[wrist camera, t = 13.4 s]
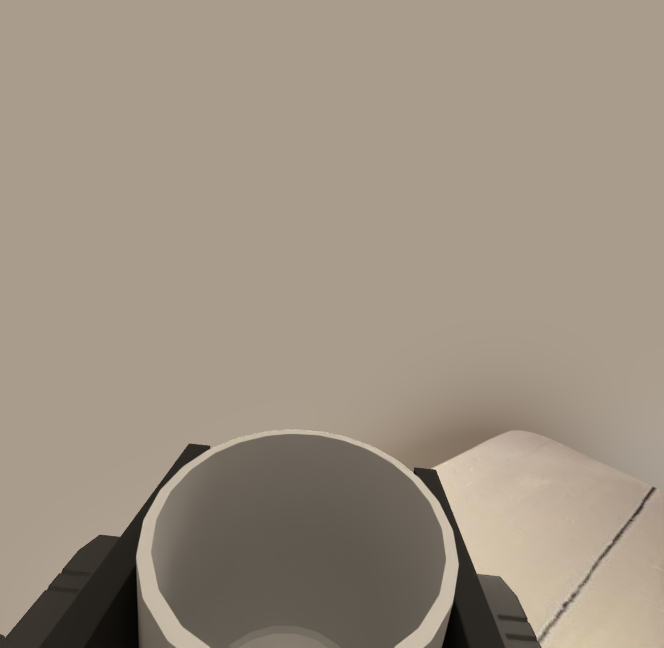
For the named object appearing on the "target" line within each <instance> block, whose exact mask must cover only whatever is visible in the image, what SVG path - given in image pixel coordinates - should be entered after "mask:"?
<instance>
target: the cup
mask: <svg viewBox="0 0 664 648" xmlns="http://www.w3.org/2000/svg"><path fill="white" fill-rule="evenodd" d="M458 567H459V563H458V557H457V551H456V545H455V539H454V534H453V530H452V527H451V525H450V523H449V521H448V519H447V517H446V515H445V513H444V511H443V509H442V507H441V505H440V503H439V501H438V500H437V499H436V498H435V496H434V495H433V494H432V493H431V492H430V490H429V489H428V488H427V487H426V485H425V484H424V483H423V482H422V481H421V479H420V478H419V477H417V476H416V475H415V474H414V473H412V472H411V471H410V470H409V469H408V468H406V467H405V466H404V465H403V464H401V463H400V462H399V461H398V460H396V459H394V458H392V457H391V456H389V455H387V454H385V453H384V452H382V451H380V450H378V449H376V448H375V447H373V446H370V445H368V444H365V443H362V442H359V441H357V440H354V439H351V438H348V437H345V436H340V435H336V434H331V433H326V432H321V431H310V430H293V429H291V430H278V431H267V432H260V433H256V434H252V435H248V436H243V437H240V438H235V439H233V440H231V441H228V442H226V443H223V444H221V445H219V446H216V447H214V448H212V449H209V450H207V451H206V452H204V453H203V454H201V455H200V456H198V457H197V458H195V459H194V460H192V461H191V462H189V463H188V464H186V465H185V466H183V467H182V468H181V469H180V470H179V471H178V472H177V473H176V474H175V475H174V476H173V477H172V478H171V479H170V480H169V481H168V482H167V484H166V485H165V486H164V487H163V488H162V489H161V490H160V491H159V493H158V495H157V497H156V498H155V500H154V502H153V504H152V506H151V507H150V509H149V511H148V513H147V515H146V516H145V518H144V520H143V525H142V530H141V535H140V540H139V545H138V549H137V554H136V572H137V602H138V631H139V648H442V644H443V640H444V637H445V633H446V629H447V625H448V621H449V617H450V613H451V609H452V605H453V600H454V593H455V587H456V580H457V573H458Z"/></svg>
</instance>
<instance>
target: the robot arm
mask: <svg viewBox="0 0 664 648" xmlns="http://www.w3.org/2000/svg"><path fill="white" fill-rule="evenodd" d="M209 449H210V446H207V445H197V444H188V446H187V447H186V449H185V450H184V451H183V453H182V454H181V455H180V457H179V458H178V460H177V461H176V462H175V464H174V465H173V466H172V468H171V469H170V470H169V472H168V473H167V474H166V476H165V477H164V479H163V480H162V481H161V483H160V484H159V485H158V487H157V488H156V489H155V491H154V492H153V493H152V495H151V496H150V498H149V499H148V500H147V502H146V503H145V504H144V506H143V507H142V508H141V510H140V511H139V512H138V514H137V515H136V516H135V518H134V519H133V521H132V522H131V523H130V525H129V526H128V527H127V529H126V530H125V531H124V533H123V534H122V536H121V537H116V536H107V535H99V536H98V537H96V538H95V539H93V540H92V541H91V542H89V543H88V544H86V545H85V546H84V547H83V548H81V549H80V550H79V551H78V552H77V553H76V554H75V555H74V557H73V558H72V559H71V560H70V561H69V562H68V564H67V565H66V566H65V567H64V568H63V570H62V573H61V574H58V576H57V577H56V578H55V579H54V580H53V581H52V583H51V584H50V585H49V587H48V589H47V590H45V591H44V592H43V593H42V595H41V596H40V597H39V598H38V599H37V601H36V602H35V603H34V604H33V605H32V607H31V608H30V609H29V610H28V611H27V613H26V614H25V615H24V616H23V617H22V619H21V620H20V621H19V622H18V623H17V625H16V626H15V627H14V628H13V629H12V631H11V632H10V633H9V634H8V635H7V636H6V638H5V637H4V636H3V635H1V634H0V648H139V631H138V602H137V572H136V554H137V549H138V545H139V540H140V535H141V530H142V525H143V520H144V518H145V516H146V515H147V513H148V511H149V509H150V507H151V506H152V504H153V502H154V500H155V498H156V497H157V495H158V493H159V491H160V490H161V489H162V488H163V487H164V486H165V485H166V484H167V482H168V481H169V480H170V479H171V478H172V477H173V476H174V475H175V474H176V473H177V472H178V471H179V470H180V469H181V468H182V467H183V466H185V465H186V464H188V463H189V462H191V461H192V460H194V459H195V458H197V457H198V456H200V455H201V454H203V453H204V452H206V451H207V450H209ZM414 474H415V475H416V476H417V477H419V478H420V479H421V481H422V482H423V483H424V484H425V485H426V487H427V488H428V489H429V490H430V492H431V493H432V494H433V495H434V496H435V498H436V499H437V500H438V501H439V503H440V505H441V507H442V509H443V511H444V513H445V515H446V517H447V519H448V521H449V523H450V525H451V527H452V530H453V534H454V539H455V545H456V551H457V557H458V563H459V567H458V573H457V580H456V587H455V593H454V600H453V605H452V609H451V613H450V617H449V621H448V625H447V629H446V633H445V637H444V640H443V644H442V648H541V646H540V644H539V642H537V639H536V638H537V637H536V635H535V633H534V631H533V629H532V627H531V625H530V623H528V621H527V617H526V614H525V612H524V610H523V608H522V606H521V604H520V602H519V600H518V598H517V596H516V595H515V594H514V592H513V591H512V590H511V589H510V588H509V586H508V585H507V584H506V583H505V582H504V581H503V579H502V578H501V577H499V576H490V575H481V574H476V571H475V569H474V566H473V564H472V561H471V558H470V556H469V553H468V551H467V548H466V546H465V543H464V541H463V538H462V535H461V533H460V530H459V528H458V525H457V523H456V520H455V518H454V515H453V513H452V510H451V507H450V505H449V502H448V500H447V497H446V495H445V492H444V490H443V487H442V484H441V482H440V479H439V477H438V474H437V472H436V470H433V469H424V468H414Z"/></svg>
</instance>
